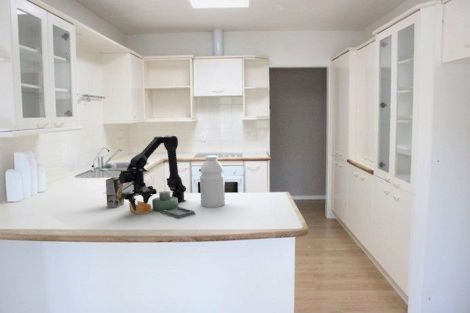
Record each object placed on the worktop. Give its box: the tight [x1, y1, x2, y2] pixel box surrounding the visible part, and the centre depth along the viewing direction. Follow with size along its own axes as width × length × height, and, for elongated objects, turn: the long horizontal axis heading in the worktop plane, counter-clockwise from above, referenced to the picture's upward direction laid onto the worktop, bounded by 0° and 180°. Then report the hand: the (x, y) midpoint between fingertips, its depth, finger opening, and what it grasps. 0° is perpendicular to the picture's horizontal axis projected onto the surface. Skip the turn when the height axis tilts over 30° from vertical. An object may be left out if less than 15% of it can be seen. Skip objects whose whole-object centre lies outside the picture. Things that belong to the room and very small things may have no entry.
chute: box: [128, 200, 152, 215], centre depth 210 cm, size 12×6×4 cm, turn 45°
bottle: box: [199, 155, 226, 208], centre depth 220 cm, size 14×14×28 cm
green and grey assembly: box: [151, 190, 196, 220], centre depth 210 cm, size 14×30×9 cm, turn 44°
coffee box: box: [105, 176, 125, 209], centre depth 223 cm, size 9×6×16 cm
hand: (140, 209), depth 210 cm, fingers closed on chute, 6 cm apart
